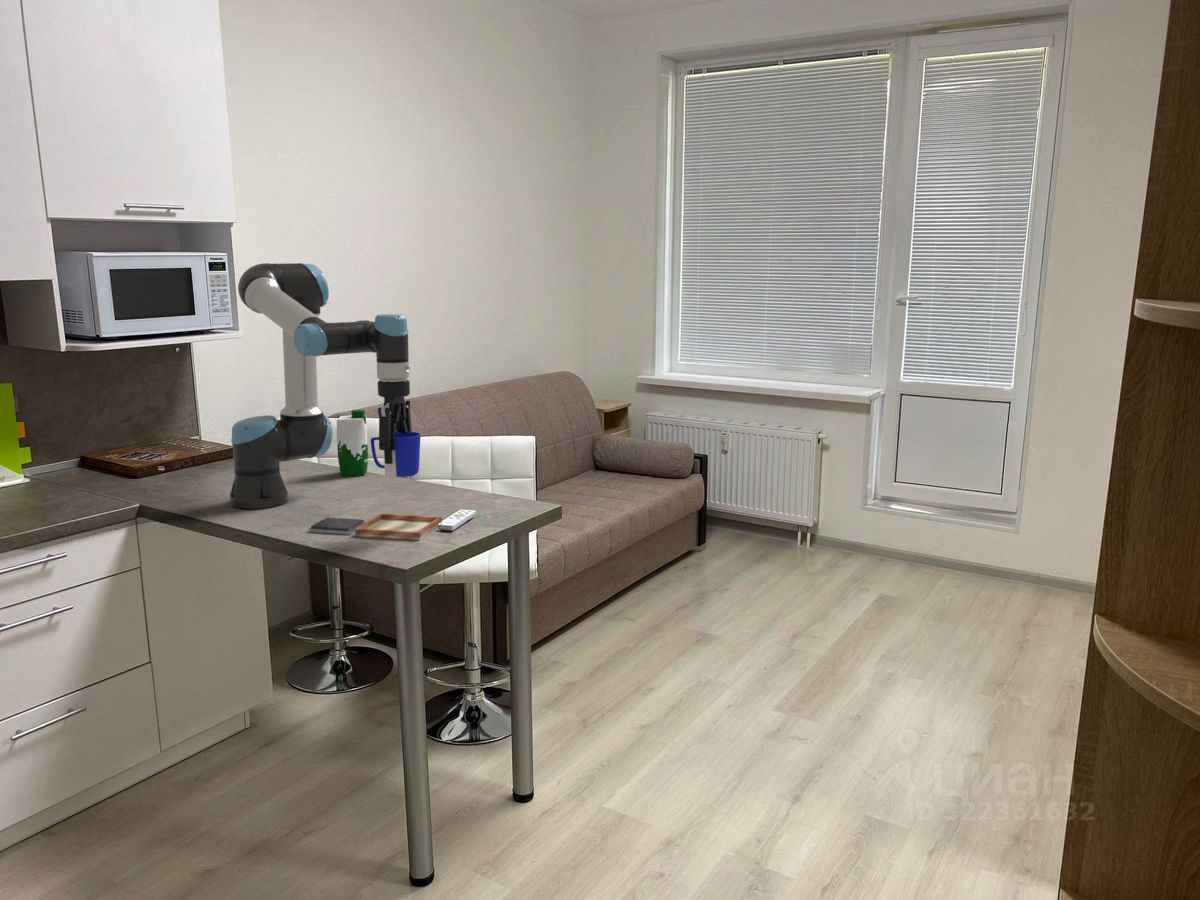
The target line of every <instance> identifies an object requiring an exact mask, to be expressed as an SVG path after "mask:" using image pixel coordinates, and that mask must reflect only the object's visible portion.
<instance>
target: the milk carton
mask: <svg viewBox="0 0 1200 900" xmlns="http://www.w3.org/2000/svg"><path fill="white" fill-rule="evenodd" d="M365 412H366V411H365V409H352V410H351V411H350V413H351V415H341V416H339V417H338V418H337V419H336V446H337V461H338V466H339V472H340V477H358V476H359V477H361V476H362V475H363V477H364V476H365V475H366V473H367V472H368V467H369V465H368V464H369V463H368V462H369V444H368V427H367V416H366V413H365Z"/></svg>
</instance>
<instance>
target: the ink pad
mask: <svg viewBox="0 0 1200 900" xmlns="http://www.w3.org/2000/svg"><path fill="white" fill-rule="evenodd" d="M365 522H366V521H365V520H364V519H357V518H356V519H355V518H339V517H325V518H323V519H321V520H320V521H318V522H316V523H315V524H312V525H311V526H310V527H309V528H308V533H314V534H315V533H317V534H319V533H320V534H333V535H352V534H355V529H356V528H357V527H359V526H360V525H362V524H364V523H365Z"/></svg>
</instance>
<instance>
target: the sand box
mask: <svg viewBox="0 0 1200 900" xmlns="http://www.w3.org/2000/svg"><path fill="white" fill-rule="evenodd" d="M364 522H365V523H364V524H362V525H360V526H359V527H357V528H356V529H355V532H354V537H363V538H365V537H366V538H380V539H392V540H393V539H395V540H396V539H397V540H409V541H410V540H411V541H412V540H413V541H421V540H422V539H424V538H425V537H426V536H427V535H429V534H430V533H432V532H433V531H435V530H436V529H437V528H438V527H439V526H438V524H439V523H441V522H442V523H443V517H442V516H436V515H435V516H434V515H415V514H414V515H413V514H400V513H399V514H397V513H382V512H381V513H379V514H377V515H376V516H374V517H372V518H371V519H368V520H367V521H364ZM437 526H438V527H437Z"/></svg>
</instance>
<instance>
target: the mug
mask: <svg viewBox="0 0 1200 900" xmlns="http://www.w3.org/2000/svg"><path fill="white" fill-rule="evenodd" d="M421 437H422V435H421V433H419V432H418V431H417V432H416V431H412V432H406V434H403V433H402V432H395V437H394V450H395V457H396V470H397V478H398V477H400V478H403V477H404V478H407V477H413V476H415V475H417V474H418V473H419V471H420V459H421V458H420V456H421ZM375 441H379V436H376V437H375V436H374V437H371V438H370V448H371V453H372V458H373V461H374V463H375V465H376V466H377V467H378V468H380V469H385V465H384V464H381V463H380V462H379V460H378V458H377V453H376V448H375V447H376V446H375Z"/></svg>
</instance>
